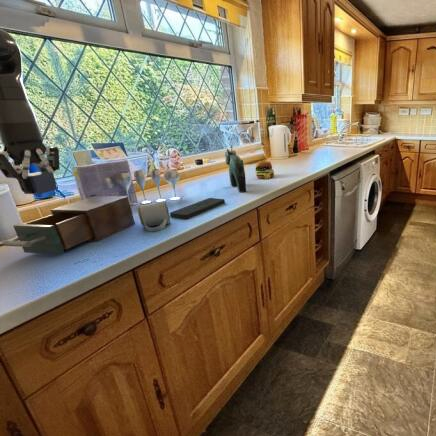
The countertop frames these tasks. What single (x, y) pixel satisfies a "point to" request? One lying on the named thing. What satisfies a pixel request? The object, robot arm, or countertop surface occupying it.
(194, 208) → the smart home device
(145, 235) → the countertop surface
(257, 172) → the cheeseburger
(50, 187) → the block
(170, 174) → the goblet set
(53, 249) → the drawer
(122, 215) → the cabinet
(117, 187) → the cake pan box
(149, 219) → the ceramic mug
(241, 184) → the dark green animal figure
